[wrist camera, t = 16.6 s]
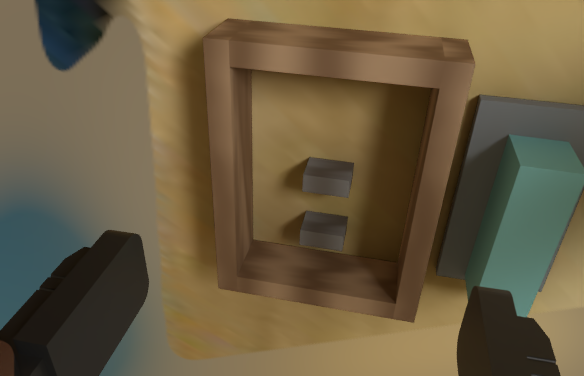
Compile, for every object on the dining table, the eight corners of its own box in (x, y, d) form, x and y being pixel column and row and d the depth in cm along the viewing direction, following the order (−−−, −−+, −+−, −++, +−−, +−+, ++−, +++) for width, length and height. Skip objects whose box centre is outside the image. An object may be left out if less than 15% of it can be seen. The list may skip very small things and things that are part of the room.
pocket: (467, 39, 35) (475, 63, 31) (413, 280, 47) (414, 322, 43) (227, 18, 38) (202, 37, 33) (235, 251, 50) (218, 288, 46)
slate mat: (610, 108, 35) (615, 113, 35) (538, 284, 45) (540, 292, 44) (479, 94, 37) (481, 99, 36) (436, 268, 46) (436, 275, 45)
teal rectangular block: (568, 142, 36) (587, 174, 32) (513, 283, 44) (523, 323, 40) (509, 134, 37) (520, 165, 33) (464, 274, 44) (469, 314, 41)
